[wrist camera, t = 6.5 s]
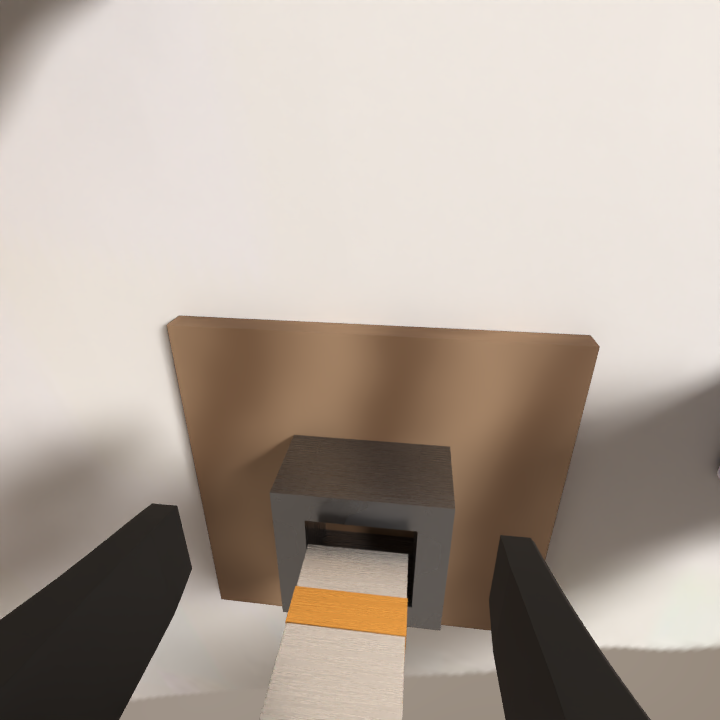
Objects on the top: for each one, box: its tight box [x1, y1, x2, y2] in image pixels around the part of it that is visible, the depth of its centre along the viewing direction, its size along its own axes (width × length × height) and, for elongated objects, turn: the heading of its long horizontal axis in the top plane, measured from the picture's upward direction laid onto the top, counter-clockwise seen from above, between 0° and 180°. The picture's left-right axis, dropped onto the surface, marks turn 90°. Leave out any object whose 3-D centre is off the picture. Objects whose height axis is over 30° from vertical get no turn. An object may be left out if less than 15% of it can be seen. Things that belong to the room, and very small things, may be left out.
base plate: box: [167, 316, 600, 630], centre depth 21 cm, size 16×16×1 cm
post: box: [260, 544, 408, 720], centre depth 14 cm, size 4×4×7 cm
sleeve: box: [270, 435, 455, 630], centre depth 19 cm, size 6×6×4 cm
